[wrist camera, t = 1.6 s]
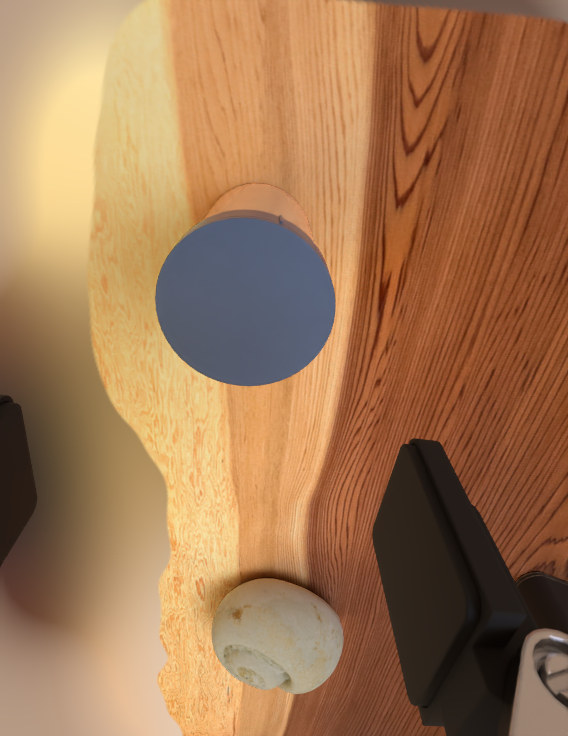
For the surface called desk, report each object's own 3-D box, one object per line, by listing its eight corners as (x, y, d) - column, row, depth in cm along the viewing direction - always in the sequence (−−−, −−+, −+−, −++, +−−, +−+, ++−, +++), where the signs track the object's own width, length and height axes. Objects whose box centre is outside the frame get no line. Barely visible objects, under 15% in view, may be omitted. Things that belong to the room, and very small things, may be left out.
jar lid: (193, 175, 16) (186, 182, 15) (361, 249, 18) (368, 261, 16) (146, 335, 20) (135, 352, 18) (291, 387, 21) (292, 407, 20)
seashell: (202, 705, 40) (218, 663, 34) (207, 611, 46) (222, 562, 40) (337, 703, 42) (375, 664, 36) (325, 615, 49) (355, 569, 43)
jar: (224, 163, 24) (192, 194, 15) (329, 211, 26) (356, 264, 17) (190, 268, 27) (146, 345, 18) (285, 306, 29) (288, 395, 20)
